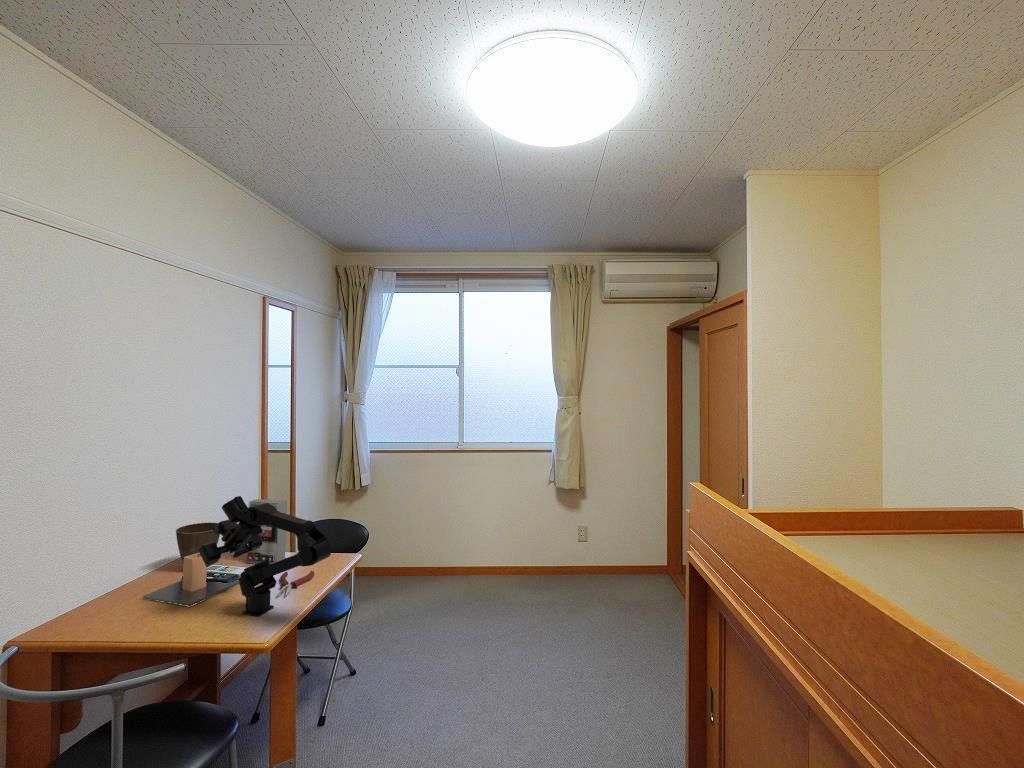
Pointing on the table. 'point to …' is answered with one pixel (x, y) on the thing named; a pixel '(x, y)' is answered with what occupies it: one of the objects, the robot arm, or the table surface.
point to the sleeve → (194, 572)
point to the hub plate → (185, 597)
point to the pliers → (292, 583)
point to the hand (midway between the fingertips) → (220, 561)
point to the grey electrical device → (269, 537)
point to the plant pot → (195, 538)
